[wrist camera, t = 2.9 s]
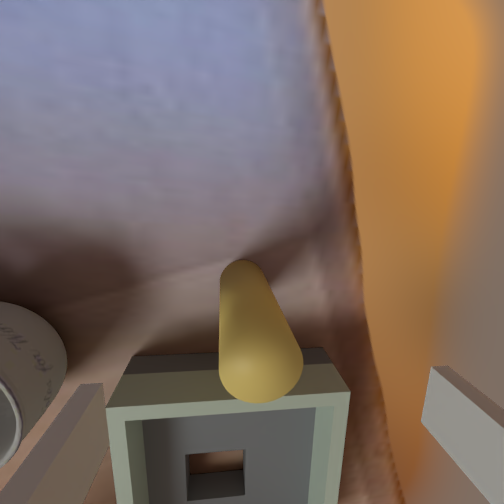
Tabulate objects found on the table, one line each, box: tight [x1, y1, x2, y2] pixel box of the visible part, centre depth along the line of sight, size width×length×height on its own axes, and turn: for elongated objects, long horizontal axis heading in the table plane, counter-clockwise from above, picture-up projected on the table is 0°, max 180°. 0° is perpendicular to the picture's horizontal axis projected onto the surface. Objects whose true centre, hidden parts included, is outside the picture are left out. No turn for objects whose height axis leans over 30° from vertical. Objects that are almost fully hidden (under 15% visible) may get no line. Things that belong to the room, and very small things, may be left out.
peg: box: [219, 260, 303, 403], centre depth 19 cm, size 4×4×12 cm
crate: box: [105, 348, 351, 504], centre depth 26 cm, size 23×18×6 cm
